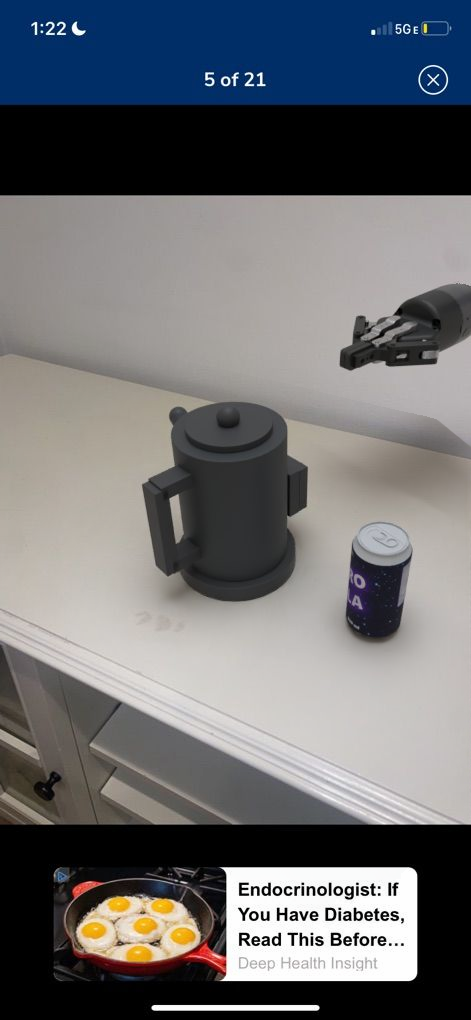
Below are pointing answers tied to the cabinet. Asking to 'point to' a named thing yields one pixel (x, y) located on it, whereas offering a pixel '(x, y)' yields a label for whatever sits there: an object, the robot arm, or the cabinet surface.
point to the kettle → (228, 501)
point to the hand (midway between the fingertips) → (344, 361)
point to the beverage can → (378, 578)
